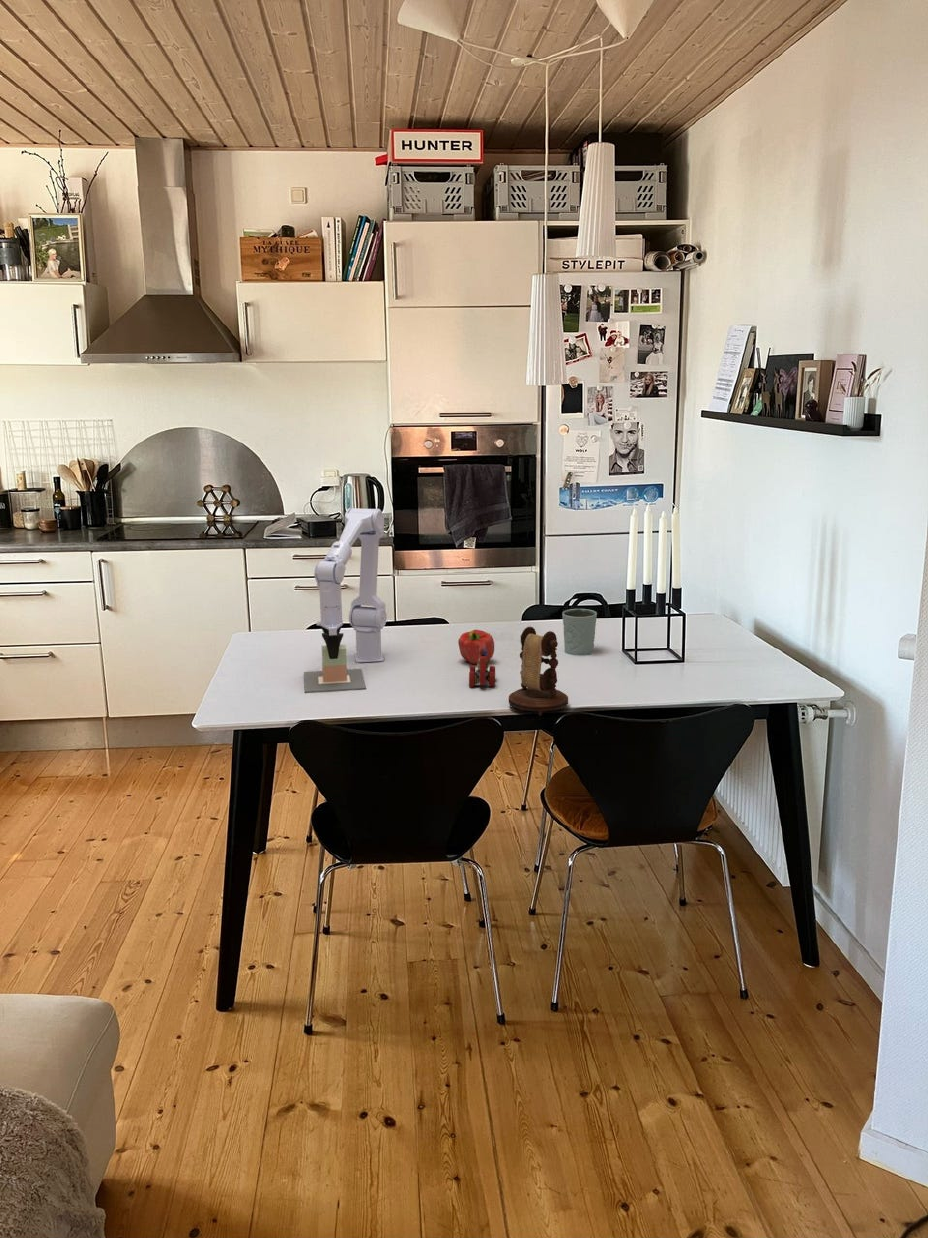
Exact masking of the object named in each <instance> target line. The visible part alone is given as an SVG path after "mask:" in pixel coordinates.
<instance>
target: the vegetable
mask: <svg viewBox="0 0 928 1238" xmlns="http://www.w3.org/2000/svg"><path fill="white" fill-rule="evenodd" d="M480 642H486V650H487V655H486V660H487V663H488V662H489V661H490V660H491V659H492V658H493V656H494V653H495V641H494V638H493V636H492V635H491V633H488V632H486V631H484V630H481V629H472V630H471V631H465V632H463V633H462V634H461V635H460V637H459V638H458V641H457V643H458V648H459V652H460V655H461V657H462V658H463V660H465V661H466V662H469V663H470V664H473V665H477V664H478V659H479V657H480Z"/></svg>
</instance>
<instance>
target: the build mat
mask: <svg viewBox="0 0 928 1238" xmlns="http://www.w3.org/2000/svg"><path fill="white" fill-rule="evenodd" d="M303 682H304V683H303V684H304V693H305V694H313V693H324V692H325V693H327V692H343V691H344V692H346V691H358V689H362V690H367V686H366V682H365V678H364V674H363V670H362V668H352V669H351V668H348V669H347V681H337V682H323V673H322V670H318V671H317V670H316V671H315V670H314V671H304V672H303Z"/></svg>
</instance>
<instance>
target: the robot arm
mask: <svg viewBox="0 0 928 1238" xmlns="http://www.w3.org/2000/svg"><path fill="white" fill-rule="evenodd" d="M384 531H385V516H384V513H383V511H382V510H381V509H380V508H357V507H355V508H354V507H348V508H347V510H346V512H345V514H344V528H343V531H342V533H341V536H340V538H339V540H337V541H334V542H333V543H332V545H331V546H330V548H329V550H328V552H327V553H326V555H325V557H324V558H323V560H320V561H319V562H317V563H316V565H315V568H314V573H313V574H314V579H315V581H316V588H317V589H318V591H319V608H320V609H319V610H320V621H316V626H319V627H320V628H321V630H322V632H323V633H321V637H322V638H323V640H324V643H325V646H327V650H328V655H329V658H330V659H338V654H339V647H340V645H341V642H342V640H343V637H344V632H343V633H342V632H341V629H342V627H343V625H344V620H343V607H342V606H343V604H342V584H341V583H342V582H343V581H344V578H345V572H346V569H347V567H346V565H347V563H348V561H349V560H350V558H351V556H352V553H353V551H352V547H353V545H354V543H356V541H357V539H359V540H360V542H361V543H360V545H361V546H360V564H359V565H360V566H359V567H360V569H359V571H360V572H359V592H358V593H359V594H358V596H357V597H356V598H354V599H353V600H352V601H351V603H350V609H349V611H348V612H349V613H348V622H349V625H350V626H351V627H352V628H353V631H355V650H356V651H355V652H354V653H353V655H354V658H355V662H356V664H357V663H371V662H372V663H374V662H384V659H385V658H384V656H383V653H382V636H381V635H382V632H381V630H382V629H383V628H384V627H385V625H386V623H387V620H388V619H387V612H386V611H387V610H386V602H385V601H383V600H382V599H381V598H380V597H379V596H378V595H377V589H378V588H377V587H378V571H379V570H378V568H379V567H378V565H379V548H380V547H379V543H380V539H381V538H384ZM340 632H341V633H340Z"/></svg>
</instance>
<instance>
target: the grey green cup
mask: <svg viewBox="0 0 928 1238" xmlns="http://www.w3.org/2000/svg"><path fill="white" fill-rule="evenodd" d="M561 616H562V622H563V623H562V625H563V642H564V643H563V644H564V653H566V654H568V655H571V656H589V655H592V654H593V653H594V652H595V651H594V650H595V639H596V638H595V636H596V625H597V616H598V613H597V611H595V610H592V609H589V608H587V609H586V608H572V609H566V610H564V611H562V615H561Z"/></svg>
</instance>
